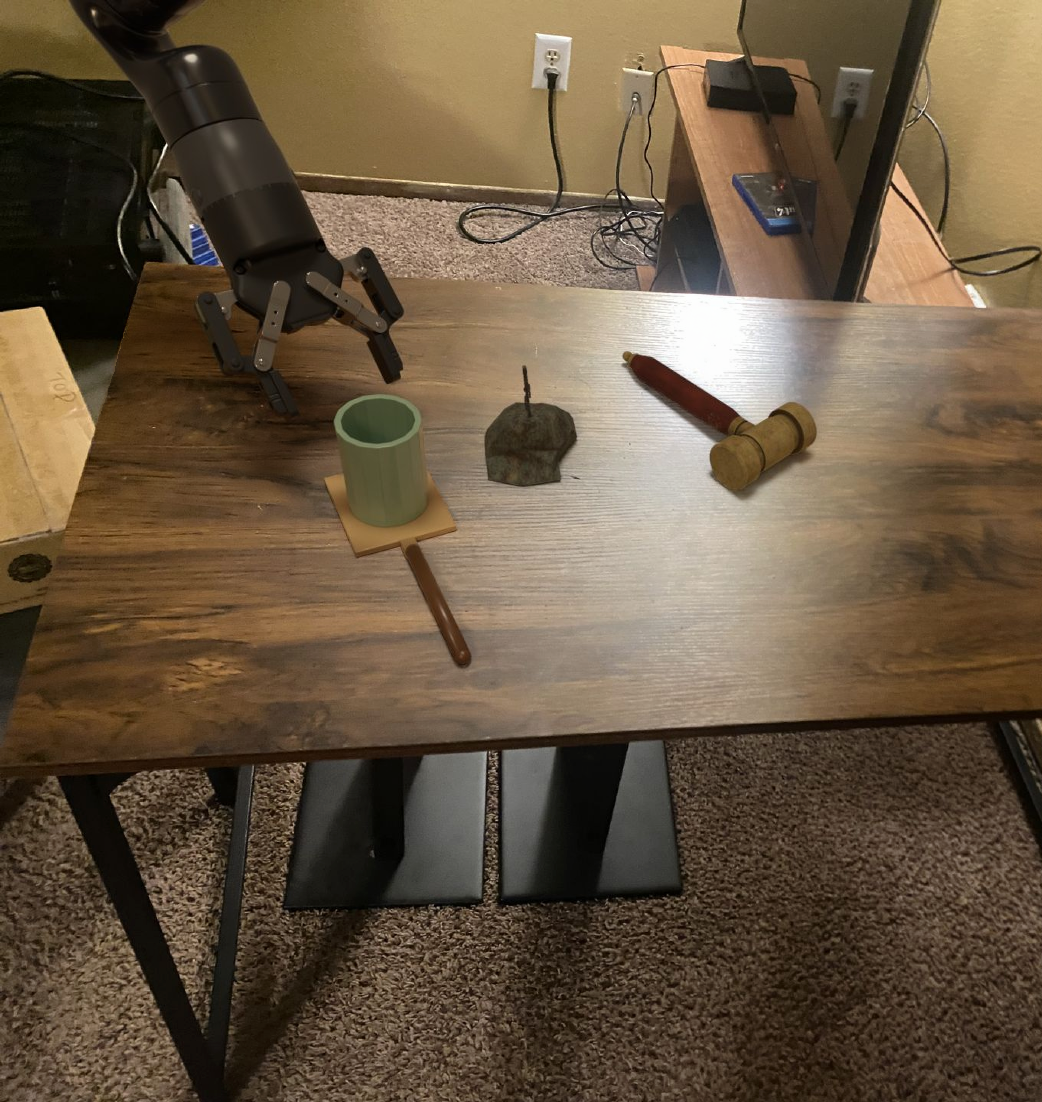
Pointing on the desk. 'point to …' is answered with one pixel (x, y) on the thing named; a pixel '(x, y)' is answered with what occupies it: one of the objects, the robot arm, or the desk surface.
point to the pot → (382, 459)
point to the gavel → (732, 425)
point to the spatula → (407, 550)
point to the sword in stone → (528, 441)
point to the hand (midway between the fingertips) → (345, 399)
